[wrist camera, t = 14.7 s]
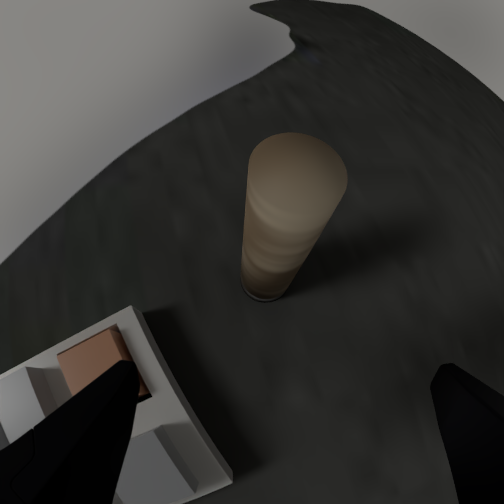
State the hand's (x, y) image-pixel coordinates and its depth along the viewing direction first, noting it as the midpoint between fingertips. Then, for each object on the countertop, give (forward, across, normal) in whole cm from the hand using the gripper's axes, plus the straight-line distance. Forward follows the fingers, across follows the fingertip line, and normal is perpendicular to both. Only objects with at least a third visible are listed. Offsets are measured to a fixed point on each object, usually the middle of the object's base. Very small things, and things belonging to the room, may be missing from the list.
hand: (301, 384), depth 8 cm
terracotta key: (+8, +10, +9) cm, 16 cm away
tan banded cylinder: (+14, 0, +4) cm, 15 cm away
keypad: (+4, +14, +14) cm, 21 cm away
